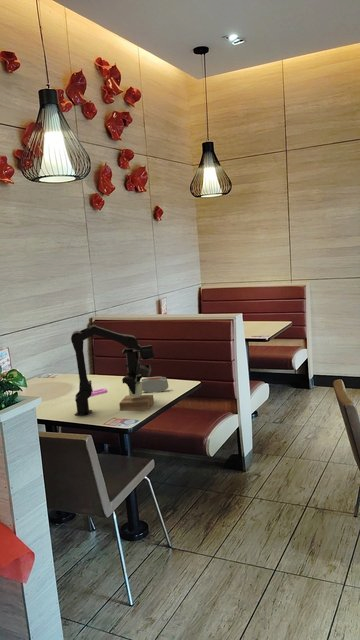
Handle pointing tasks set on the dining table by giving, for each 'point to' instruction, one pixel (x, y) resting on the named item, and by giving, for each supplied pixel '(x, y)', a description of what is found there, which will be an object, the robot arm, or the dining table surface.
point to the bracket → (98, 392)
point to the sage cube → (138, 390)
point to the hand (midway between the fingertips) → (135, 392)
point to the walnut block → (136, 402)
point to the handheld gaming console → (154, 384)
